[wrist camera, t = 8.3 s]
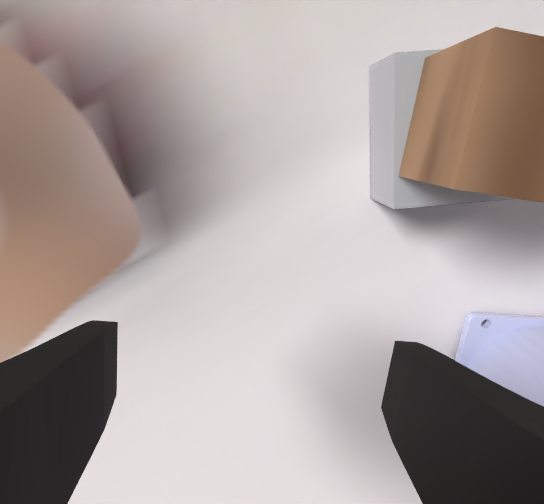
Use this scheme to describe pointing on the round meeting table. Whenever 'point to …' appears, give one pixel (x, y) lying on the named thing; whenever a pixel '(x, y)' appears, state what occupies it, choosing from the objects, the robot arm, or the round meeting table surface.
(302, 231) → the round meeting table surface
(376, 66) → the grey block
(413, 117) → the walnut cube
